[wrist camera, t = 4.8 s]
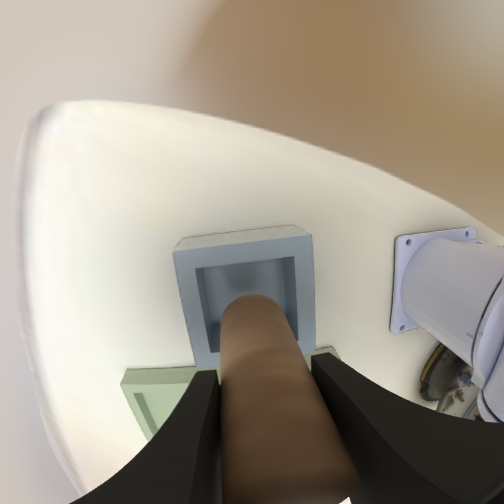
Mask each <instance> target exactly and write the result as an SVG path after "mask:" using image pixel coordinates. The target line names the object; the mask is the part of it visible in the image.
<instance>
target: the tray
mask: <svg viewBox="0 0 504 504" xmlns="http://www.w3.org/2000/svg"><path fill="white" fill-rule="evenodd" d="M326 352H330V353H331V354H333V355H334V356H335V357H337V358H338V359H340V357H339V356H338V354H337V353H336V351H335V349H334V348H333V346H332V347H328V348H323V349H318V350H315V352H314V353H309V354H303V356H304V358H305V360H306V362H307V364H308V367H309V369H310V371H311V355H316V354H321V353H326ZM340 360H341V359H340ZM341 361H342V360H341ZM215 369H216V370H217V375H218V379H219V384H220V366H219V367H209V368H196V366H195V367H180V368H161V369H127V370H126V372H125V374H124V377H123V379H122V381H121V383H120V386H121V388H122V390H123V393H124V395H125V397H126V399H127V401H128V404H129V406H130V408H131V410H132V412H133V414H134V416H135V418H136V420H137V422H138V424H139V426H140V428H141V430H142V432H143V433H144V435H145V437H146V439H147V441H148V442H149V441H150V440H151V439H152V437H153V436H154V435H155V434H156V433H157V431H158V430H159V429H160V427H161V426H162V425H163V423H164V422H165V421H166V420H167V418H168V417H169V415H170V414H171V412H172V411H173V409H174V408H175V406H176V405H177V403H178V402H179V400H180V399H181V397H182V395H183V394H184V392H185V390H186V389H187V387H188V385H189V384H190V382H191V380H192V378H193V376H194V374H195V373H196V372H197V371H203V370H215Z"/></svg>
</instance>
